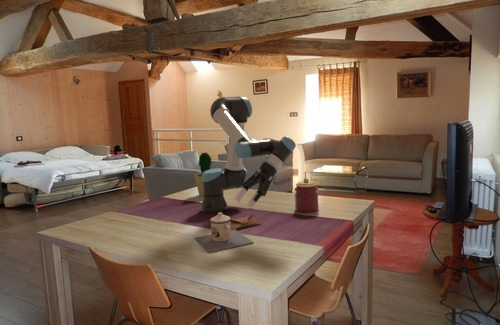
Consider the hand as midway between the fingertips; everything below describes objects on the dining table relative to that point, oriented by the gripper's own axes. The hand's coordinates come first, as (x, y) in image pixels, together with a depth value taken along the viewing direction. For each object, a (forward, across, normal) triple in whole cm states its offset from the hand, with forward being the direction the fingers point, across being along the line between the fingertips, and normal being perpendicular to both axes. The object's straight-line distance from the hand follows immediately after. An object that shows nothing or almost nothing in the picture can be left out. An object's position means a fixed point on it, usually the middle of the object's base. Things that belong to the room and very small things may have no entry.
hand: (242, 203), depth 167 cm
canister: (-23, +21, -45) cm, 55 cm away
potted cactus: (+2, +90, -21) cm, 92 cm away
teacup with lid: (+18, 0, -4) cm, 18 cm away
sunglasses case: (+8, +14, -15) cm, 22 cm away
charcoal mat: (+18, 0, -4) cm, 18 cm away
